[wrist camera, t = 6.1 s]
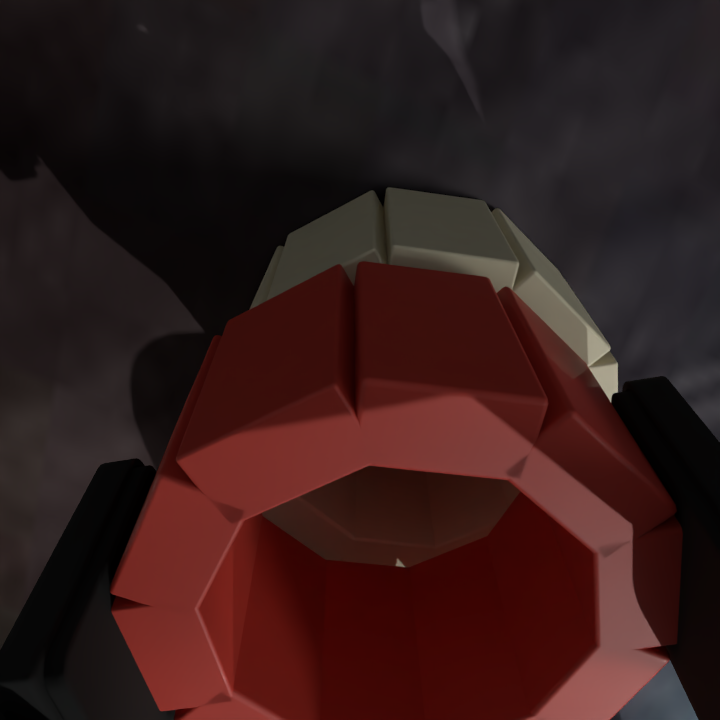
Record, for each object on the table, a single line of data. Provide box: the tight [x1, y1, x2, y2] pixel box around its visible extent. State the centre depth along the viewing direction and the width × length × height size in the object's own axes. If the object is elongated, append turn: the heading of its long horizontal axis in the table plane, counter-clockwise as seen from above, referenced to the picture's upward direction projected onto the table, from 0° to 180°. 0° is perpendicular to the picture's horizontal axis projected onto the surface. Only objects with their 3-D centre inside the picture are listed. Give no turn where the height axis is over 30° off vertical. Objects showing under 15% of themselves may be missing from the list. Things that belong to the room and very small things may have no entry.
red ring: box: [110, 261, 683, 720], centre depth 10 cm, size 7×7×4 cm
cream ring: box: [249, 187, 618, 567], centre depth 14 cm, size 7×7×4 cm
